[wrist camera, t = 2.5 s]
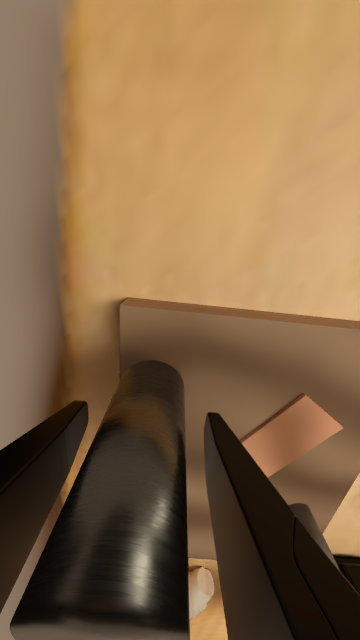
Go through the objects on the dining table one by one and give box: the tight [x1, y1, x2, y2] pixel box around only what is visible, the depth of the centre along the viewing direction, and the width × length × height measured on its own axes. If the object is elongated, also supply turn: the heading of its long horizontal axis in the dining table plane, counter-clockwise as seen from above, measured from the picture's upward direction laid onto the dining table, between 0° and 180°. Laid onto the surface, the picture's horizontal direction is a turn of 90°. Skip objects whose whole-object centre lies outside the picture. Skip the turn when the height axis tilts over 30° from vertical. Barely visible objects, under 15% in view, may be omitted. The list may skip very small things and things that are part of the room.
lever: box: [10, 360, 190, 640], centre depth 10 cm, size 19×4×8 cm, turn 174°
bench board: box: [120, 298, 360, 569], centre depth 13 cm, size 22×16×4 cm
